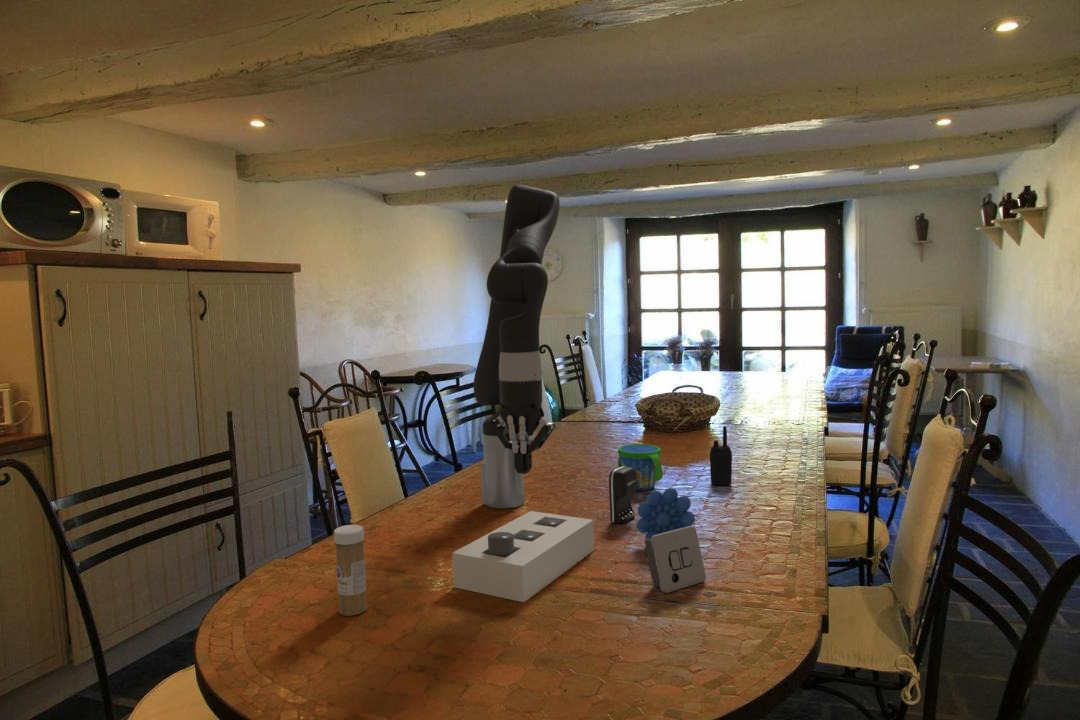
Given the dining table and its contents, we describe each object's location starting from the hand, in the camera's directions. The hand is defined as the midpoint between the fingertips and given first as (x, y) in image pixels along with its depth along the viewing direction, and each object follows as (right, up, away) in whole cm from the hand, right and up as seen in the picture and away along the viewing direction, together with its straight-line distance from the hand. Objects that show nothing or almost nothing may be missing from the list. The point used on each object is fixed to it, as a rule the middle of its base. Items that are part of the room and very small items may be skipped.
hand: (523, 472), depth 127 cm
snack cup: (+28, -12, +53) cm, 61 cm away
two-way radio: (+49, -12, +53) cm, 73 cm away
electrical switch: (+26, -18, -8) cm, 32 cm away
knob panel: (+1, -17, +2) cm, 18 cm away
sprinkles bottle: (-27, -20, -14) cm, 36 cm away
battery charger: (+21, -15, +27) cm, 38 cm away
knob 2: (+1, -17, +1) cm, 17 cm away
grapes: (+28, -16, +10) cm, 33 cm away
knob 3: (+5, -16, +9) cm, 19 cm away
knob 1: (-4, -15, -6) cm, 16 cm away
